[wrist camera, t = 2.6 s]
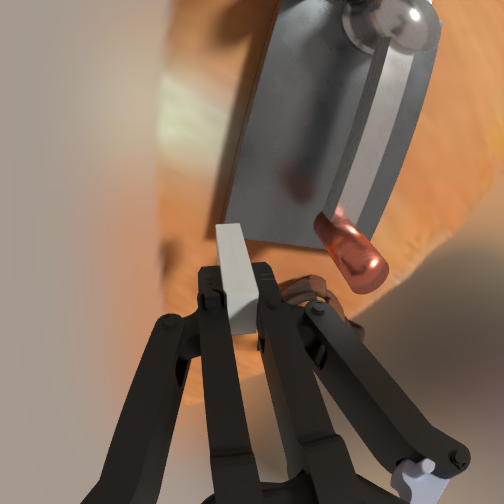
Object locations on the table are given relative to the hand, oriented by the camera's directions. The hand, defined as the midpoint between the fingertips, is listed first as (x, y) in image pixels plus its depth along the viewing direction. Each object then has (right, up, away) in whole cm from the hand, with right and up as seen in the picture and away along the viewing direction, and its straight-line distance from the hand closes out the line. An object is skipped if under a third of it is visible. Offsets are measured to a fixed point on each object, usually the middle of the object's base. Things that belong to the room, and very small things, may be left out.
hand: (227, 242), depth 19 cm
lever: (+9, +11, -1) cm, 14 cm away
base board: (+8, +11, +2) cm, 14 cm away
